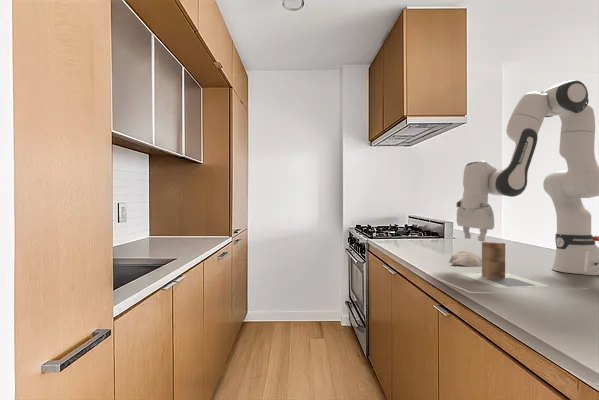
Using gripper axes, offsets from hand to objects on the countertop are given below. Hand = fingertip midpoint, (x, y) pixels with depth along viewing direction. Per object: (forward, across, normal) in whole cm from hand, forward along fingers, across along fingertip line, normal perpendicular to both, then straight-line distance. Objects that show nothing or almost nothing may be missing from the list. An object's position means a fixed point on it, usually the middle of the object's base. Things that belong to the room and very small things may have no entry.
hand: (474, 239), depth 158 cm
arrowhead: (+13, +24, -11) cm, 30 cm away
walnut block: (+12, -12, -1) cm, 17 cm away
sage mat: (+12, -16, -1) cm, 20 cm away
